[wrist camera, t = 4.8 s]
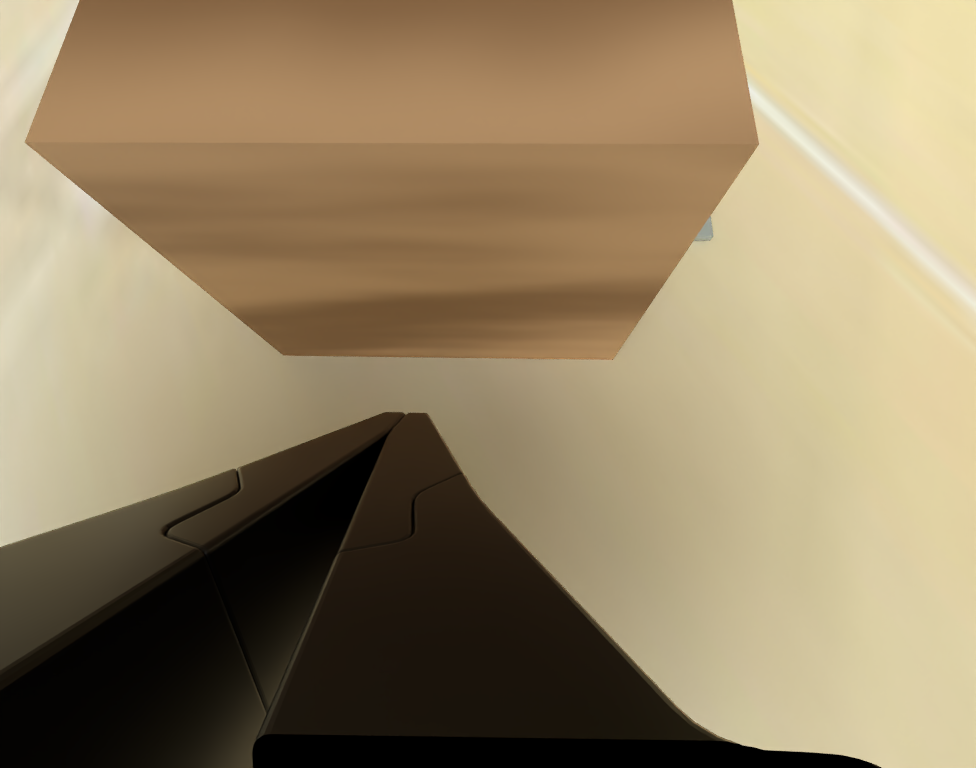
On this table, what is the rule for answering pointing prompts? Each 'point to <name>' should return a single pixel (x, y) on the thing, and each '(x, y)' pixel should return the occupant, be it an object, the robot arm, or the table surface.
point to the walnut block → (408, 160)
